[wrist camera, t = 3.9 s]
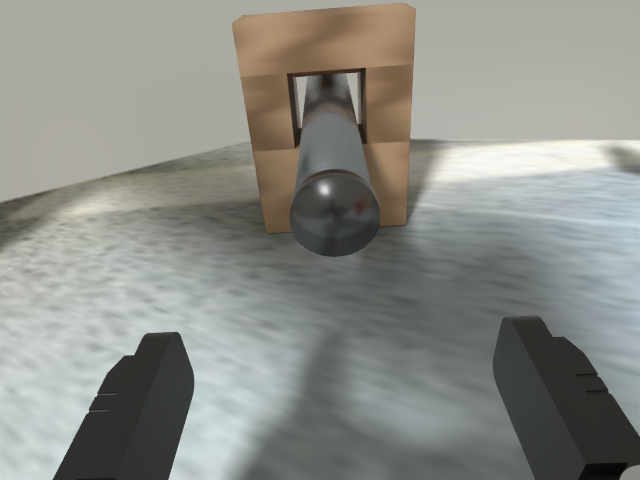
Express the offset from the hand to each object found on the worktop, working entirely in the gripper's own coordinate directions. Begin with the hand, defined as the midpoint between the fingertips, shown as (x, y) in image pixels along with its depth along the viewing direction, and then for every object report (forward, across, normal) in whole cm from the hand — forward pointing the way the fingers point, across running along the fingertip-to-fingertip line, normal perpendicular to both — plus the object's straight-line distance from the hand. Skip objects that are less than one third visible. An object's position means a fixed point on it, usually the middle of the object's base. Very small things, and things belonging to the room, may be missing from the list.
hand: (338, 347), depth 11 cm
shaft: (+17, 0, +2) cm, 17 cm away
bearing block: (+20, 0, +8) cm, 22 cm away
